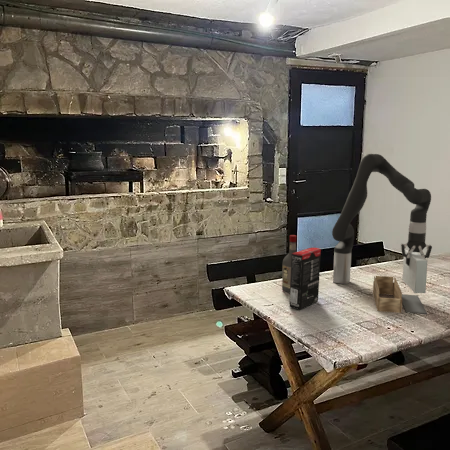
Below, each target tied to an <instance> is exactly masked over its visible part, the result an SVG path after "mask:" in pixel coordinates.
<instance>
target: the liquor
mask: <svg viewBox="0 0 450 450" xmlns="http://www.w3.org/2000/svg"><path fill="white" fill-rule="evenodd" d="M288 240H289V250H288V254H286V255H285V256H284V258H283V260H282V267H281V268H282V271H281V272H282V275H281V276H282V278H281V290H282V292H285V293H287V294H290V280H291V259H292V253H295V252H297V235H295V234H290V235H289V239H288Z"/></svg>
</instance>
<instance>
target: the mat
mask: <svg viewBox="0 0 450 450" xmlns="http://www.w3.org/2000/svg"><path fill="white" fill-rule="evenodd" d="M402 307H403V309H404V311H405V313H406V314H419V315H428V312H427V310H426V307H424V305H423V303H422V301H421V299H420V296H419V295H417V294H405V293H402Z"/></svg>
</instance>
